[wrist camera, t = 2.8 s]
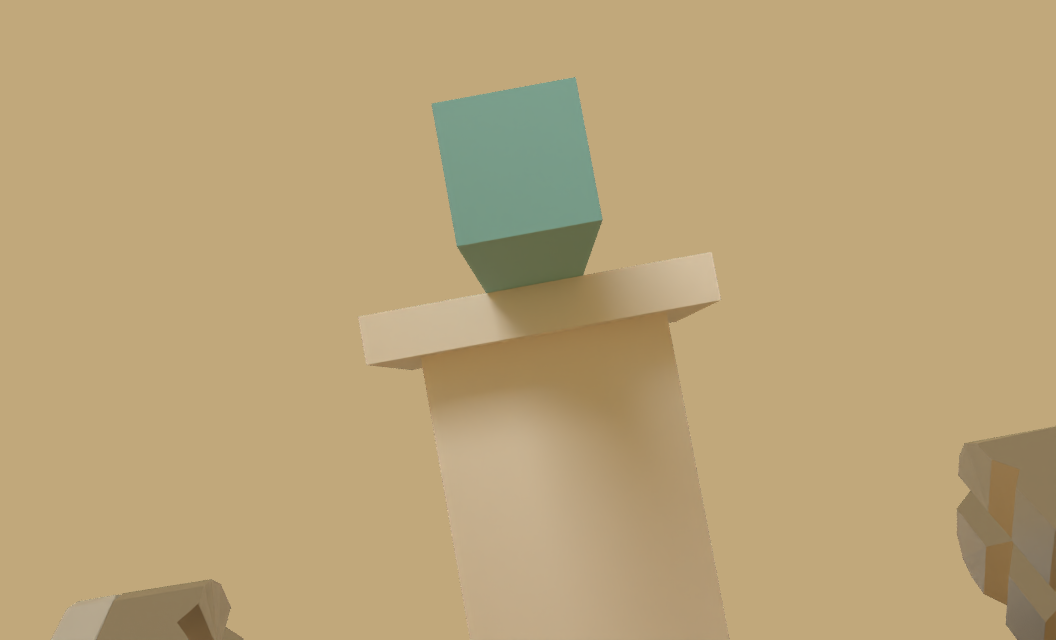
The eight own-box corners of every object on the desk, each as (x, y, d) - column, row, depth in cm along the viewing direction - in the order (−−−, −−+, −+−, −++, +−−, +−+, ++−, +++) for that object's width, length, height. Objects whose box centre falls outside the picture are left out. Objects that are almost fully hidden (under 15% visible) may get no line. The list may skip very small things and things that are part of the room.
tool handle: (602, 219, 20) (575, 77, 20) (457, 246, 20) (431, 104, 20) (569, 312, 45) (558, 248, 45) (505, 324, 45) (494, 260, 45)
